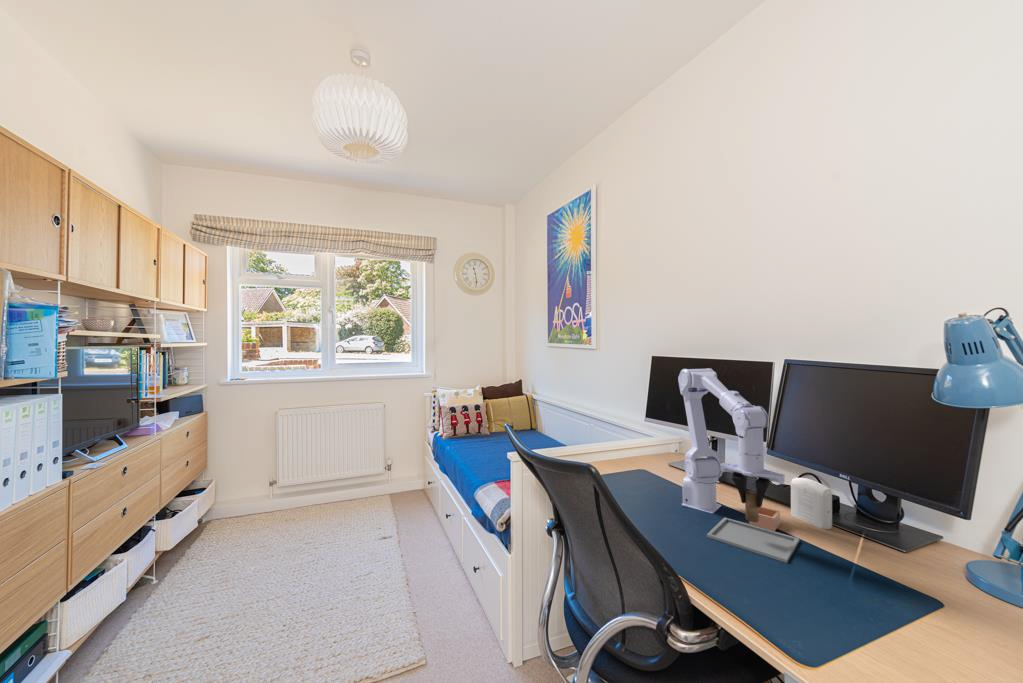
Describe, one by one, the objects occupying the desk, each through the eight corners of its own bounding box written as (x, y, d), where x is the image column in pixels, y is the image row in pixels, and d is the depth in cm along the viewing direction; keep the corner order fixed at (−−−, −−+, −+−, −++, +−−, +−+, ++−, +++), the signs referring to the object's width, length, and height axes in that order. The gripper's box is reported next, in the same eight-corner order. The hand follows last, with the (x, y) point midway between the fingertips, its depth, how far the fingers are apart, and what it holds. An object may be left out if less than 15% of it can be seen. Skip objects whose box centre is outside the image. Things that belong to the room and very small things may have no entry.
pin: (744, 519, 105) (743, 493, 105) (747, 515, 107) (746, 489, 107) (756, 523, 103) (756, 496, 103) (760, 519, 105) (759, 492, 105)
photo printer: (835, 529, 110) (834, 485, 110) (824, 532, 109) (823, 487, 109) (798, 514, 120) (798, 473, 120) (788, 516, 119) (787, 475, 119)
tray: (706, 538, 106) (706, 534, 106) (724, 521, 116) (724, 517, 116) (786, 565, 93) (786, 559, 93) (799, 543, 103) (799, 538, 103)
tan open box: (749, 525, 113) (749, 511, 113) (755, 518, 117) (755, 505, 117) (774, 532, 109) (774, 518, 109) (780, 525, 113) (779, 511, 113)
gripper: (716, 450, 107) (717, 500, 107) (779, 461, 97) (780, 517, 97) (725, 445, 112) (725, 493, 112) (786, 455, 102) (787, 508, 102)
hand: (751, 503), depth 105 cm, fingers closed on pin, 3 cm apart
